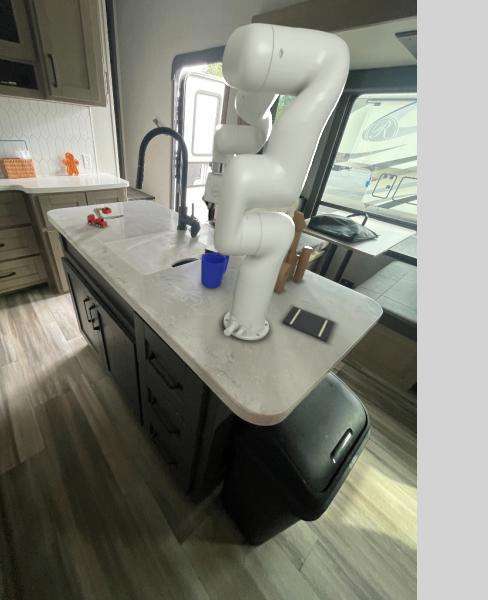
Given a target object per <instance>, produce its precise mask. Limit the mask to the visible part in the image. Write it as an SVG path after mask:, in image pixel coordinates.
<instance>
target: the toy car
mask: <svg viewBox="0 0 488 600" xmlns="http://www.w3.org/2000/svg"><path fill="white" fill-rule="evenodd" d="M207 253H217V254H220V253H219V252H218V251H217V250H216V248H215V245H210V246H208V247H205V249H204V252H203V253H201V257H202V256H203V255H204V254H207ZM221 255H222V254H221Z"/></svg>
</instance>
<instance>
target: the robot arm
mask: <svg viewBox="0 0 488 600" xmlns="http://www.w3.org/2000/svg"><path fill="white" fill-rule="evenodd" d="M350 55H351V54H350V49H349V46H348V44H347V42H346V41H345V40H344V39H343V38H342V37H340V36H339V35H336V34H334V33H331V32H327V31H324V30H319V29H311V28H305V27H293V26H285V25H278V24H272V23H262V22H253V23H249V24H246V25H242V26H239V27H237V28H235V30H233V32H232V33H231V34H230V36H229V38H228V40H227V41H226V44H225V48H224V51H223V54H222V60H221V76H222V79H223V82H224V83H225V84H226V86H228V87H230V88H233V89H235V90H237V93H236V95H235V98H234V107H235V111H236V113H237V114H238V116H239V117H240V119H242V120H243V121H244V122H245V123H247V124H249V125H246V124H245V125H243V124H226V123H225V124H224V123H219V124H217V125H216V127H215V129H214V135H213V145H212V146H213V148H212V156H211V157H212V159H211V161H210V162H209V163H208V166H209V167H210V170H209V171H208V173H207V176H206V181H205V186H204V193H203V194H202V197H201V200H202V201H203V203H204V204H205V206H206V208H207V211H208V212H207V221H208V222H210V221H213V220H214V219H215V222H214V230H213V246H215V248H216V250H217V251H218V252H219V253H220V254H222V255H227V256H229V257H234V256H235V257H239V256H240V257H241V256H244V258H243V259H242V260H241V262H240V264H239V266H238V270H237V274H236V275H237V276H236V281H235V287H234V291H233V296H232V302H231V308H230V310H229V311H228V312H227V313H226V314H224V316H223V321H222V322H223V327H224V328H225V329H224V330H223V334H224V335H225V336H226V337H230V336H231V335H232V336H233V337H235V338H237V339H240V340H244V341H258V340H261V339H263V338H264V337H266V336H267V334H268V333H269V329H270V324H269V322H268V320H267V315H268V312H269V309H270V304H271V302H272V298H273V294H274V292H275V291H274V287H275V284H276V281H277V277H278V274H279V271H280V268H281V265H282V262H283V260H284V258H285V256H286V254H287V252H288V250H289V248H290V246H291V244H292V242H293V239H294V234H295V226H294V223H293V218H291V217H290V216H289V215H288V214H286V213H284V212H280V211H272V210H247V209H286V208H290V207H292V206H294V204H296V202H298V200H299V199H300V196H301V194H302V192H303V188H304V186H305V182H306V181H307V178H308V175H309V174H308V173H309V171H310V168H311V167H312V162H313V159H314V156H315V154H316V151H317V148H318V144H319V141H320V139H321V137H322V133H323V131H324V129H325V126H326V125H327V123H328V120H329V119H330V117H331V116H332V113H333V111H334V110H335V108H336V106H337V104H338V102H339V100H340V98H341V96H342V94H343V91H344V89H345V85H346V83H347V79H348V76H349V73H350V72H349V71H350V65H351V64H350V62H351V59H350V58H351V56H350ZM279 96H289V97H293V99H292V100H291V101H290V102H289V103H288V104H287V105H286V106H285V107H284V108H283V109H282V110H281V112H280V113H279V114H278V116H277V117H276V118H275V120H274V122H273V120H272V119H273V118H272V112H271V108H272V106H273V105H274V103H275V101H276V100H277V99H278V97H279ZM272 122H273V123H272ZM267 142H268V143H267ZM266 143H267V145H266ZM264 145H266V150H265V151H264V152H263V154H258V153H259V152H260V151H261V150H262V148H263V147H264ZM215 205H217V209H215ZM215 212H216V214H215Z"/></svg>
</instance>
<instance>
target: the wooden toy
mask: <svg viewBox="0 0 488 600" xmlns="http://www.w3.org/2000/svg"><path fill="white" fill-rule="evenodd" d="M292 221H293V223H294V226H295V234H294V239H293V242H292V244H291V246H290V248H289V250H288V252H287V254H286V256H285V258H284V260H283V262H282V265H281V268H280V271H279V274H278V277H277V281H276V284H275V287H274V291H273V292H276V293H280V292H283V291H284V290H285V287H286V284H287V281H289V280H291V279H292V280H293V281H294V282H296V283H301V282H302V281H303V278H304V276H305V273H306V269H307V266H308V264H309V260H310V259H311V255H312V252H313V248H312V247H311V246H308V245H307V246H305V245H304V246H302V248H301V252H300V254H297V249H298V246H299V242H300V240H301V237H302V235H303V234H302V233H303V230H307V229H308V226H307V223H306V220H305V216H304V213H303V212H301V211H297V210H296V211H294V214H293V218H292Z"/></svg>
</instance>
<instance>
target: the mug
mask: <svg viewBox="0 0 488 600" xmlns="http://www.w3.org/2000/svg"><path fill="white" fill-rule="evenodd" d="M200 259H201V262H200V263H201V264H200V265H201V266H200V267H201V268H200V275H201V276H200V282H201V284H202V286H203V287H204V288H206V289H217V288H219V287H221V285H222V282H223V278H224V275H225V273H226V271H227V269H228V265H229V261H230V256H227V255H221V254H217V253H207V254H204V255H203V256H202V255H201V258H200Z"/></svg>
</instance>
